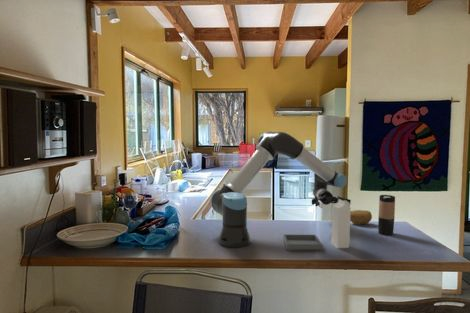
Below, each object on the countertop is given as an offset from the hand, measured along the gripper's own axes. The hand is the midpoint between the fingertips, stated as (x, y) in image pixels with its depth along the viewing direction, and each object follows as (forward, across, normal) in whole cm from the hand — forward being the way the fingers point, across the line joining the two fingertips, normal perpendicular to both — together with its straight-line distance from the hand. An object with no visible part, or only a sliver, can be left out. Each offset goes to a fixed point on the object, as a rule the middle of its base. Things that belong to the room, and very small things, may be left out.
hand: (335, 205), depth 161 cm
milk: (+11, +1, -17) cm, 20 cm away
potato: (-26, -22, -17) cm, 38 cm away
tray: (+11, +19, -16) cm, 27 cm away
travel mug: (-9, -29, -17) cm, 35 cm away
